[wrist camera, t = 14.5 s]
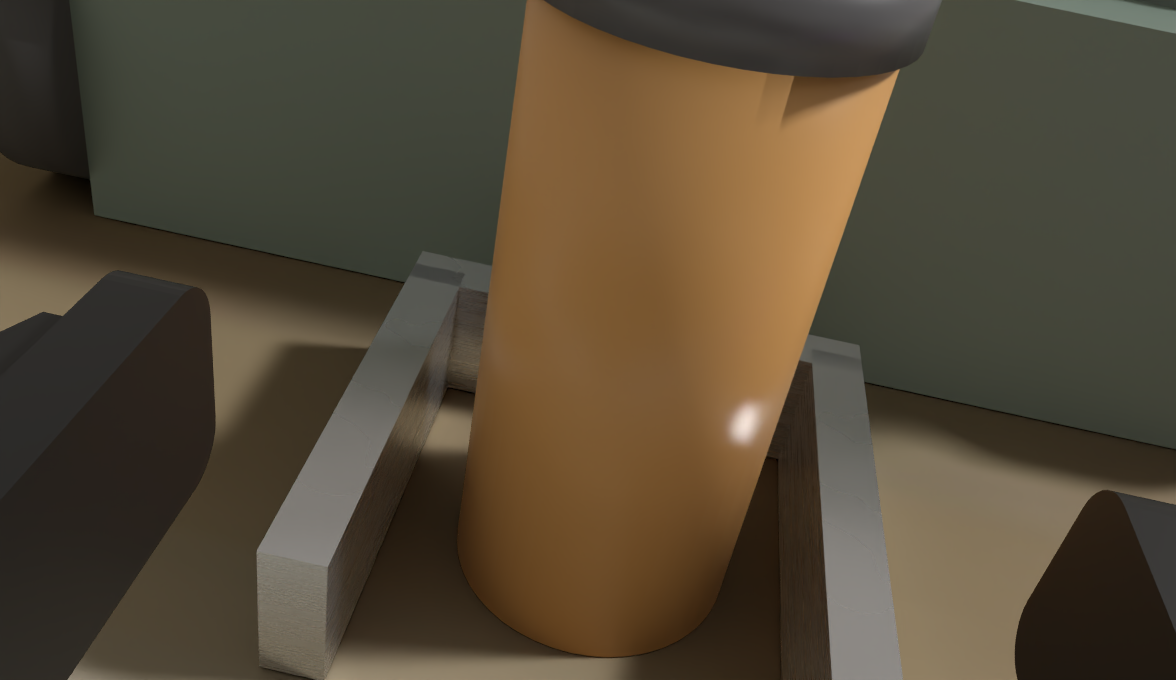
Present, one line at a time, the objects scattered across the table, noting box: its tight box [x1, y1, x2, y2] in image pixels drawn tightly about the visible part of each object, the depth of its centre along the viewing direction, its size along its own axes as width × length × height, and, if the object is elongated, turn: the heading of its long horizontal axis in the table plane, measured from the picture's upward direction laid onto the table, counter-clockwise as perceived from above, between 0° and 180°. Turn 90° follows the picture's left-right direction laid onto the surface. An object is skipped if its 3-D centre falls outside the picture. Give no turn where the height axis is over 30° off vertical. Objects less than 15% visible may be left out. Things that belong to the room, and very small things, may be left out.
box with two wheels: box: [0, 0, 1176, 680], centre depth 24 cm, size 30×26×10 cm
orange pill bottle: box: [457, 0, 942, 657], centre depth 16 cm, size 5×5×11 cm
